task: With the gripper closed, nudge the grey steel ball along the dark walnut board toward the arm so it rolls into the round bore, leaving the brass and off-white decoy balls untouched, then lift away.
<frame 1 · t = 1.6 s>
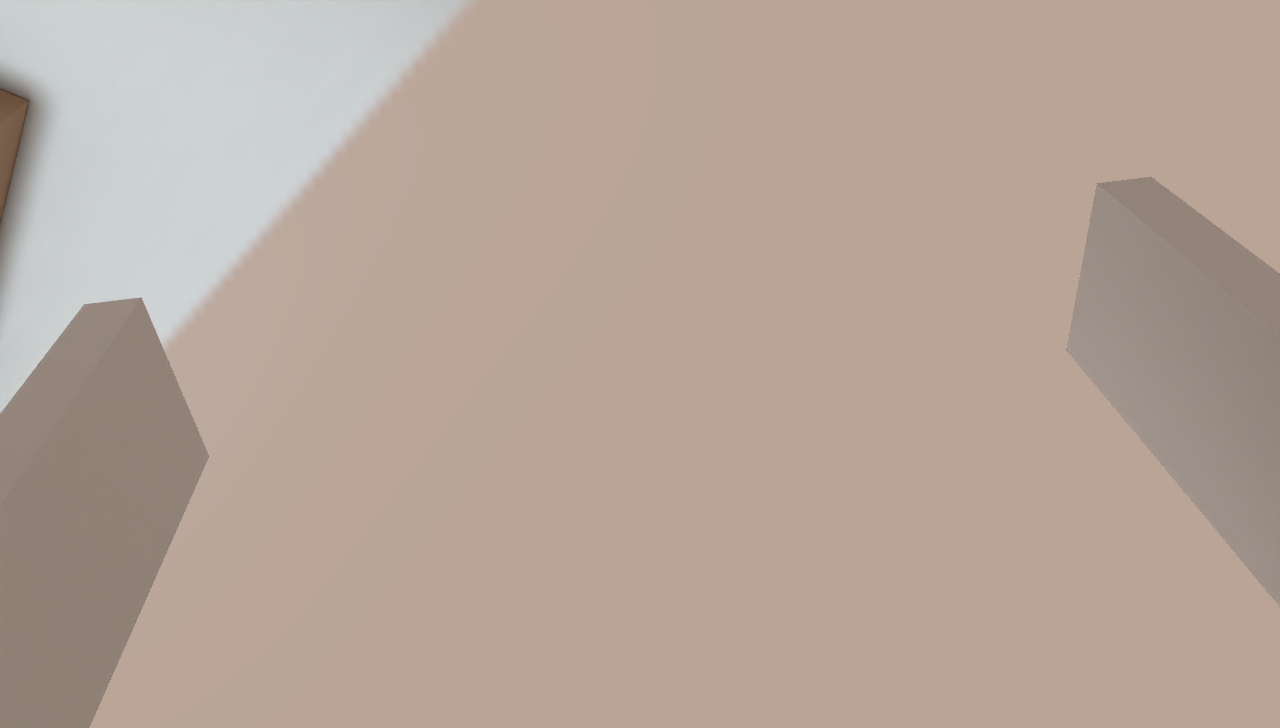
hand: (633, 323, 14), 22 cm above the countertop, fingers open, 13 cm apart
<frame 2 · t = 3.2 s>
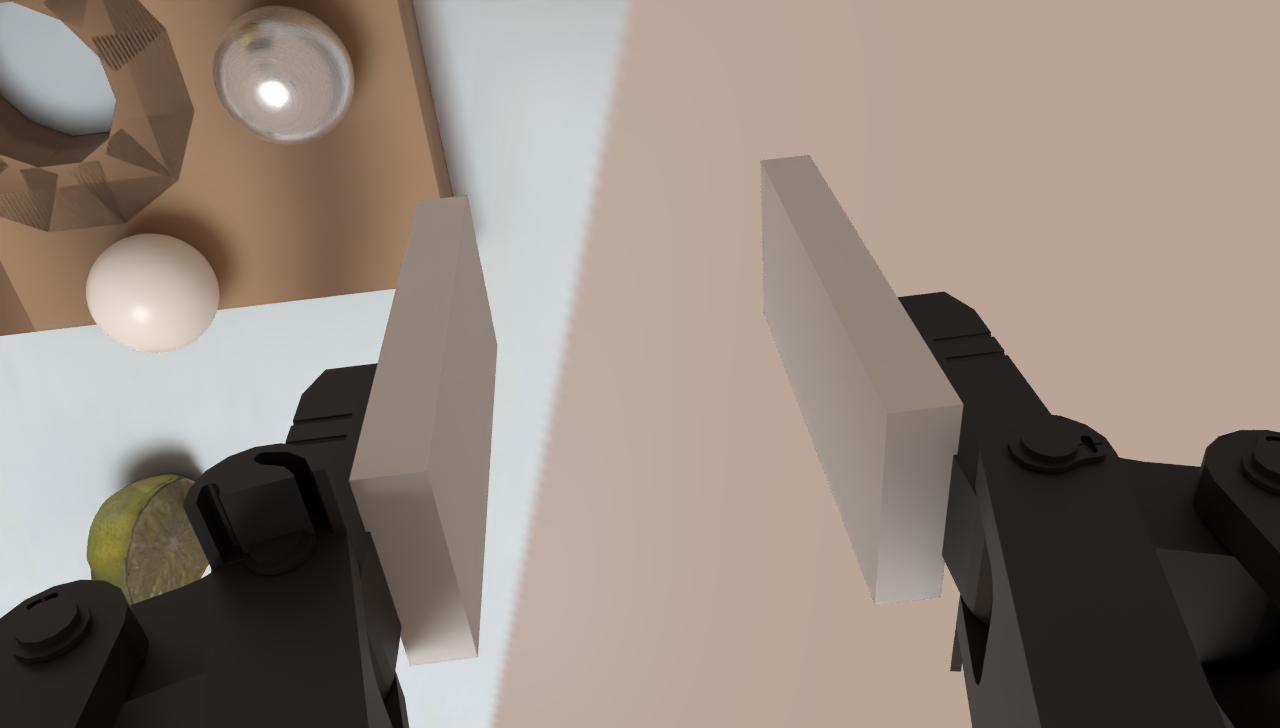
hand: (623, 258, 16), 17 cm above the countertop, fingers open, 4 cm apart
steel ball: (285, 76, 26), point 4 cm above the countertop, touching board
white decoy: (154, 293, 29), point 4 cm above the countertop, touching board
lime: (176, 498, 39), on the countertop
board: (163, 49, 29), on the countertop
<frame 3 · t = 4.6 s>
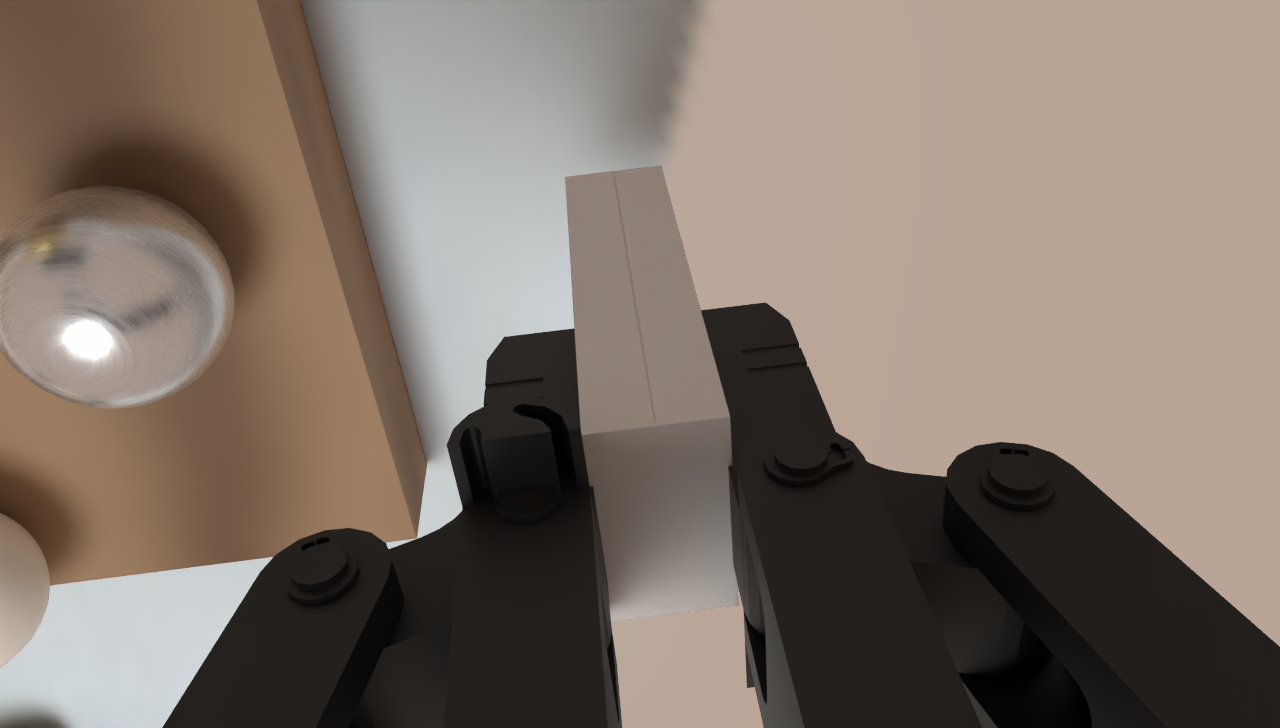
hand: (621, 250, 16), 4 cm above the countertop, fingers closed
steel ball: (115, 298, 16), point 4 cm above the countertop, touching board
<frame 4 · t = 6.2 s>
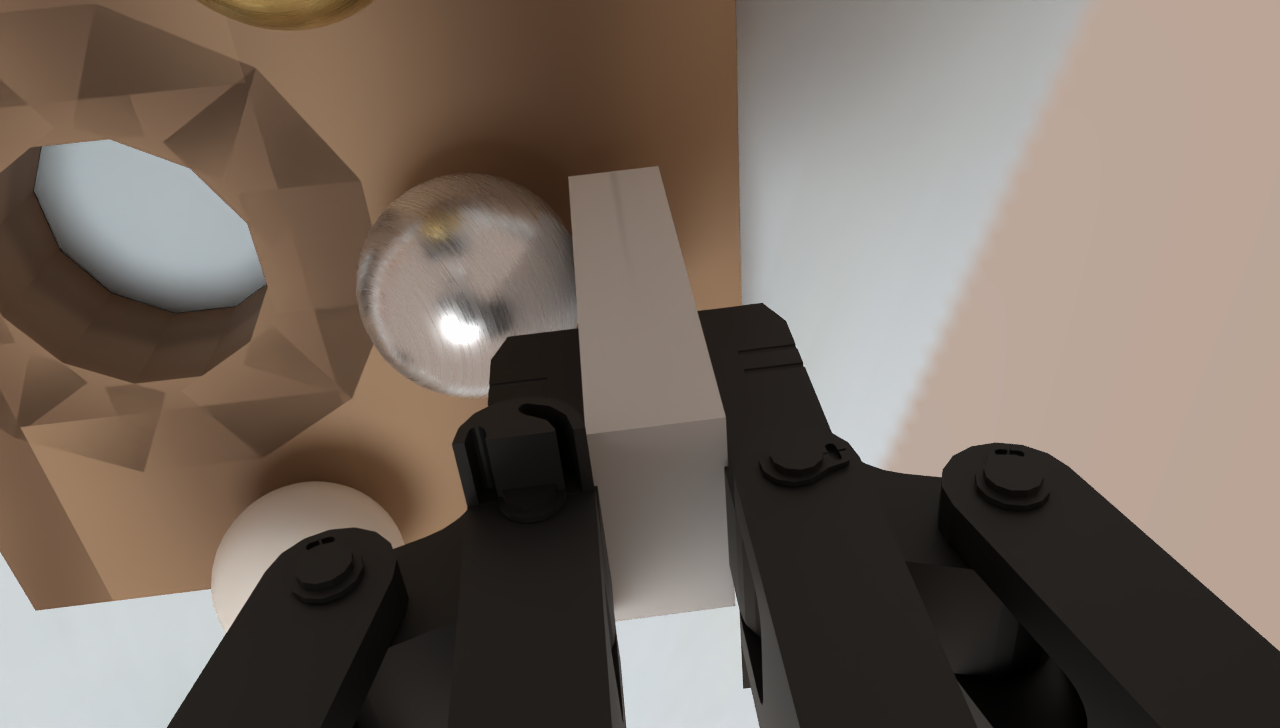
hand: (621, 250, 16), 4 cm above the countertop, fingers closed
steel ball: (472, 286, 15), point 4 cm above the countertop, tilted 51°, touching board, gripper
white decoy: (312, 575, 18), point 4 cm above the countertop, touching board
board: (326, 191, 19), on the countertop
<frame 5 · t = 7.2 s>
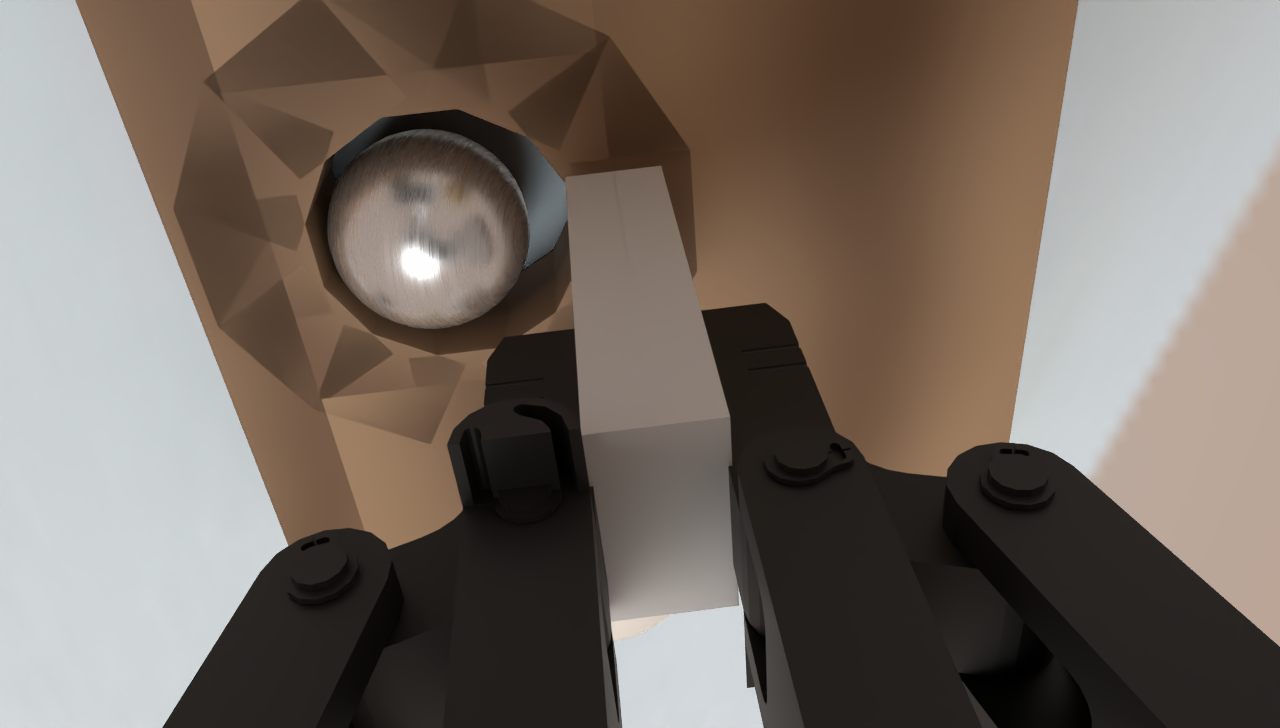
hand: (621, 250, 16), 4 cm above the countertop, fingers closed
steel ball: (430, 230, 17), point 2 cm above the countertop, tilted 74°
white decoy: (604, 545, 19), point 4 cm above the countertop, touching board
board: (612, 165, 19), on the countertop
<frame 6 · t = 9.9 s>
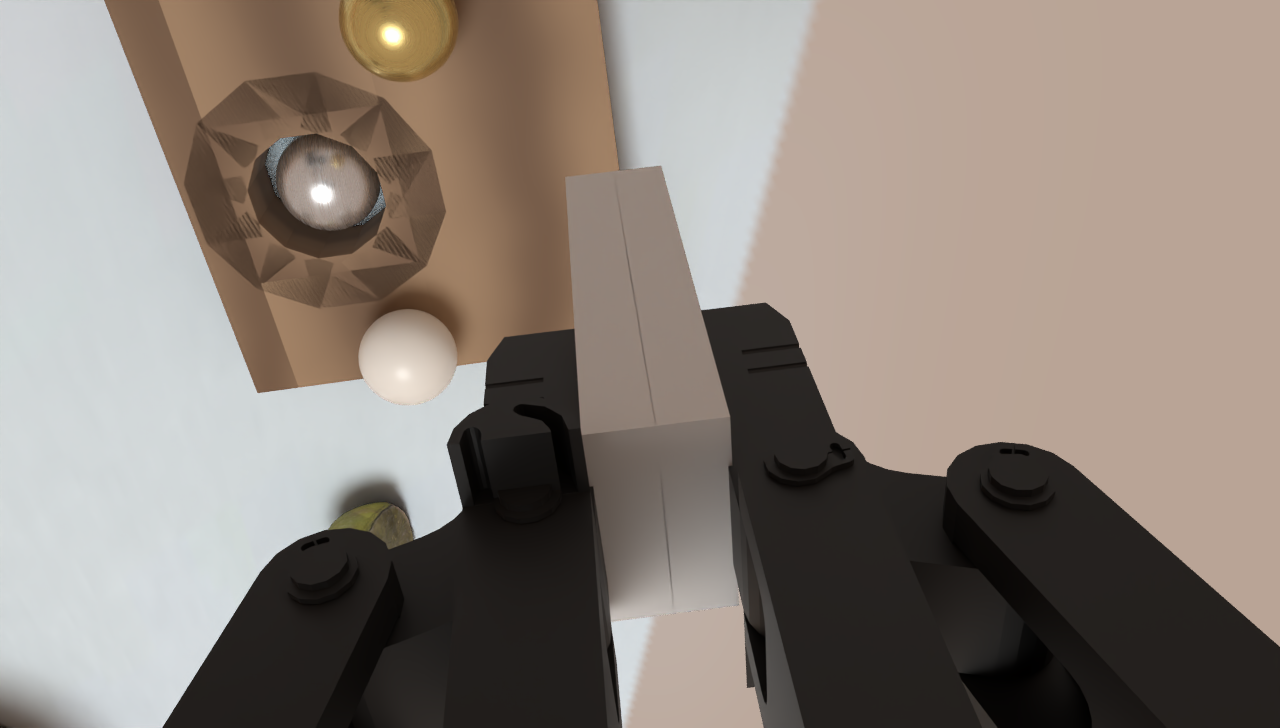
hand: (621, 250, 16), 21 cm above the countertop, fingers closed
steel ball: (328, 180, 35), point 2 cm above the countertop, tilted 97°
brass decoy: (399, 21, 30), point 4 cm above the countertop, touching board
white decoy: (408, 357, 36), point 4 cm above the countertop, touching board
lime: (378, 522, 46), on the countertop
board: (411, 160, 36), on the countertop
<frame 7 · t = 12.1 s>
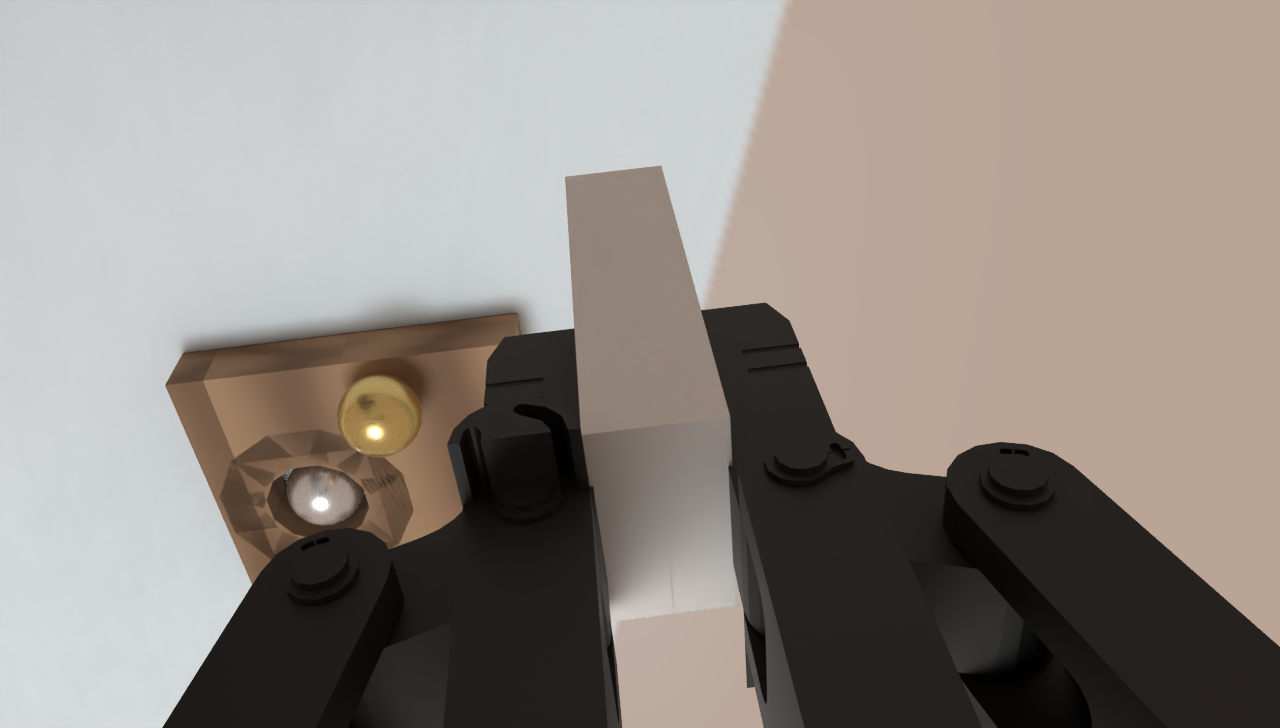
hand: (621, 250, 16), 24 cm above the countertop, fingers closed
steel ball: (325, 488, 47), point 2 cm above the countertop, tilted 95°
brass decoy: (380, 415, 42), point 4 cm above the countertop, touching board
board: (388, 462, 48), on the countertop
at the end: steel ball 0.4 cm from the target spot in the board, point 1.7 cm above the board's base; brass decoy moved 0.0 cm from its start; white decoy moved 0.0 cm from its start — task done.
